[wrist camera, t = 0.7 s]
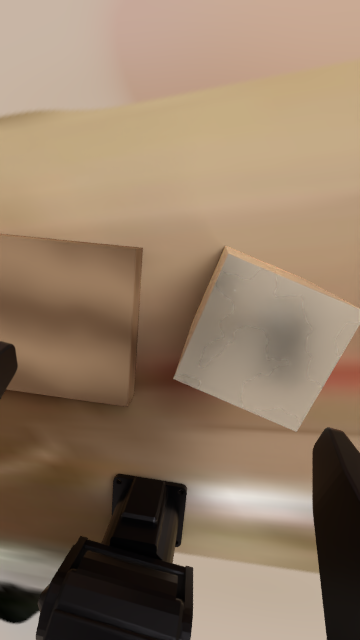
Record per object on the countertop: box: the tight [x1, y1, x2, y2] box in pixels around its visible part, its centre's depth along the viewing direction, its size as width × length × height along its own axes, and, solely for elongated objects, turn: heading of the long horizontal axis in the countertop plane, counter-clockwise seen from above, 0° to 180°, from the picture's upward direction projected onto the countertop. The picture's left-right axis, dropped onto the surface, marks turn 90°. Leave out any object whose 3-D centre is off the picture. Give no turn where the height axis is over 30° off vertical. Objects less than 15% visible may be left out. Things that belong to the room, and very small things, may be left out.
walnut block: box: [0, 234, 143, 407], centre depth 26 cm, size 12×12×2 cm
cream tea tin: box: [173, 245, 360, 432], centre depth 20 cm, size 6×6×11 cm
